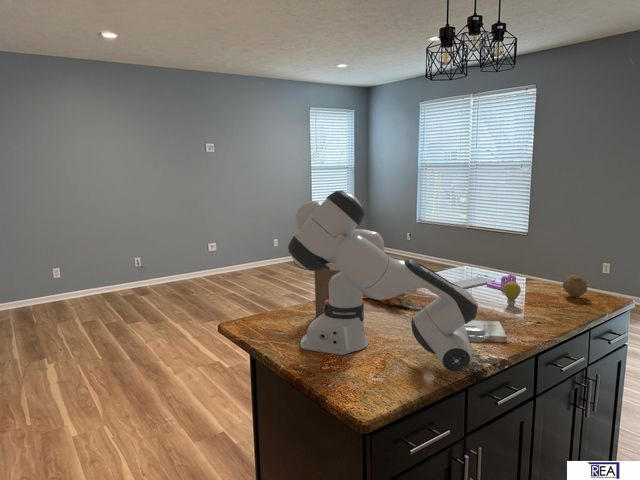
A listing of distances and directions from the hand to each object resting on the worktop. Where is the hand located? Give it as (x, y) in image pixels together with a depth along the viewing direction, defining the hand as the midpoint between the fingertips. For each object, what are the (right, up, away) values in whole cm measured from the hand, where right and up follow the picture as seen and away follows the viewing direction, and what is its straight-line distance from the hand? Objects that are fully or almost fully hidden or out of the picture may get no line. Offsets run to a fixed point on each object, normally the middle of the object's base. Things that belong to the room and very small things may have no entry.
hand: (448, 320), depth 142 cm
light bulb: (+38, -2, +42) cm, 57 cm away
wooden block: (-36, -5, +36) cm, 51 cm away
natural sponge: (+68, +1, +51) cm, 85 cm away
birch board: (+10, -7, +15) cm, 19 cm away
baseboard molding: (+29, +3, +75) cm, 81 cm away
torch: (-12, -2, +51) cm, 52 cm away
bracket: (+44, +3, +68) cm, 81 cm away
